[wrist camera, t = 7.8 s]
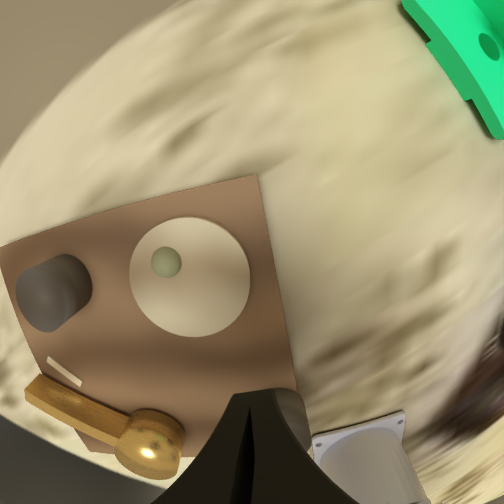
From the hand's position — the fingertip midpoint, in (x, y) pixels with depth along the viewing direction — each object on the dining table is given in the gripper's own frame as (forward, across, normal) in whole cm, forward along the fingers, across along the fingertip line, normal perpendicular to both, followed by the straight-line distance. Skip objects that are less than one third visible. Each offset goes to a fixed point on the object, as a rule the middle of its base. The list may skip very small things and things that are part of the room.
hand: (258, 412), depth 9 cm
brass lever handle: (+8, +12, +6) cm, 16 cm away
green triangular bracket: (+10, -19, -15) cm, 26 cm away
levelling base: (+9, +8, +2) cm, 13 cm away
